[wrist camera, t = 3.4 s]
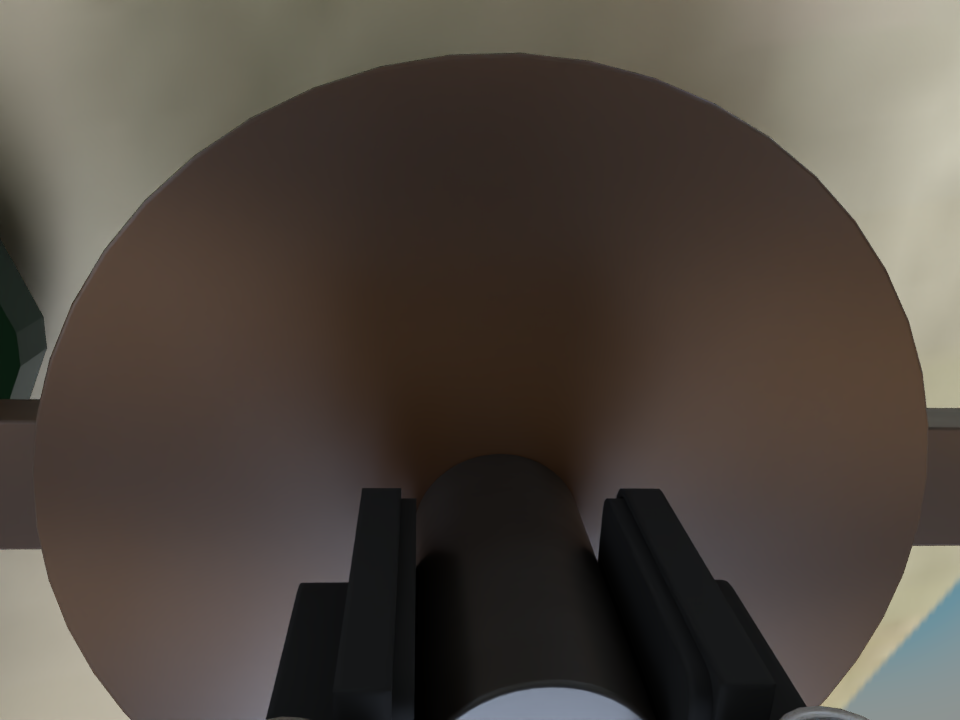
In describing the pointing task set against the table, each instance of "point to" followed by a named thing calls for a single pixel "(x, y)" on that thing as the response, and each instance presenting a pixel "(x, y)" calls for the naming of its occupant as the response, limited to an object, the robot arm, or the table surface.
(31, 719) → the table surface
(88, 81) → the table surface
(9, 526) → the two-handled cooking pot
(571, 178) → the lid
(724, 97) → the table surface
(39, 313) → the four-lobed dark green device
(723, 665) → the robot arm
